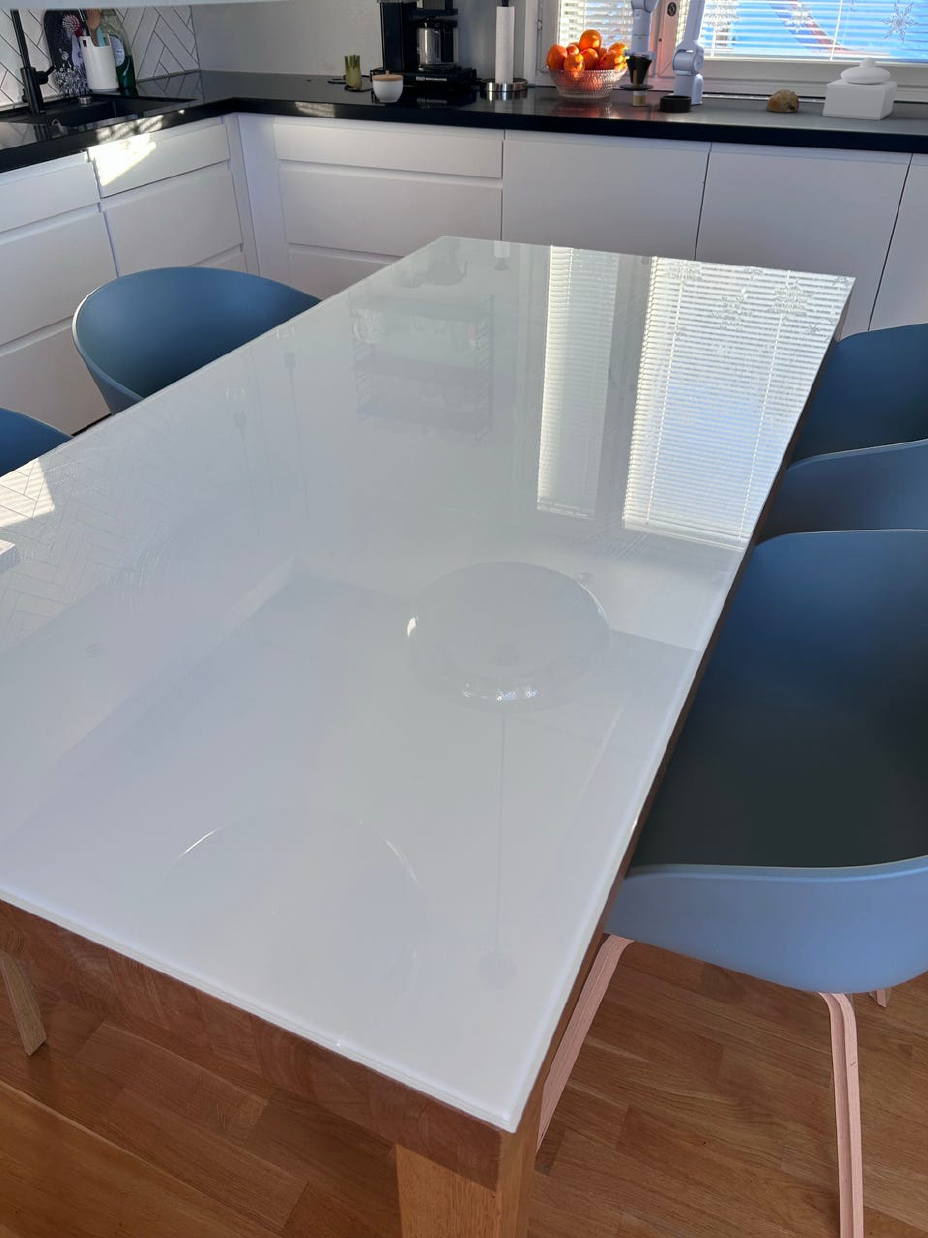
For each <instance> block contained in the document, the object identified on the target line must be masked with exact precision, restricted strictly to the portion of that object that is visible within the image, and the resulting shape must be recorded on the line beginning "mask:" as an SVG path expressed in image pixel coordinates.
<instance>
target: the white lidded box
mask: <svg viewBox="0 0 928 1238" xmlns="http://www.w3.org/2000/svg"><path fill="white" fill-rule="evenodd" d="M891 75H892V74H891V73H890V71H889V70H887V69H885V68H883V67H878V66H877V62H876V60H875V59H874V58H873V57H870V56H869V57H865V58H863V59H862V60H861V62H860V63H859V66H853V67H848V68H846V69H844V70H843V71H842V72H841V73H840V79H837V80H833V81H831V82H829V83H826V95H825V100H824V105H823V109H822V110H823V111H822V114H821V115H822V117H832V118H843V119H859V120H860V119H861V120H873V121H874V120H875V121H880V120H881V119H884V118H885V117H888V116H889V115H891V114H892V110H893V107H894V103H895V97H896V93H897V90H898V85H899V84H897V81H889V79H890V78H891Z"/></svg>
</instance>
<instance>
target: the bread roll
mask: <svg viewBox="0 0 928 1238" xmlns="http://www.w3.org/2000/svg"><path fill="white" fill-rule="evenodd" d="M765 104H767V106H766V109H767V112H770V113H781V114H782V113H783V114H785V113H786V114H787V113H796V112H798V110H799V108H800V99H799V96H798V95H797V94H796V93H795V91H793V90H792V91H791V90H789V89H780V90H778V91H776V92H774V93H773V94H772V95H771V96H770V97H769V99H768V100H767V101H766V102H765Z"/></svg>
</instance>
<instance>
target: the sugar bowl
mask: <svg viewBox="0 0 928 1238" xmlns="http://www.w3.org/2000/svg"><path fill="white" fill-rule="evenodd" d="M371 78H372V87H373V92H374V95H375V97H376V98H377V99H378V100H379V102H380V103H397V102H398V100H399V98H400V97H401V95H402V93H403V90H404V89H403V88H404V83H403V82H404V76H403V75H401V74H390V71H389V70H385V74H376V75H372V77H371Z"/></svg>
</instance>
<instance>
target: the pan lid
mask: <svg viewBox="0 0 928 1238" xmlns="http://www.w3.org/2000/svg"><path fill="white" fill-rule="evenodd" d="M654 87H655V86H654V85H651V84H648V85H645V84H637V70H634V75H633V83H628V84H620V85H619V89H622V90H624V91H627V92H634V91H647V92H648V91H649V90H653V89H654Z"/></svg>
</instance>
